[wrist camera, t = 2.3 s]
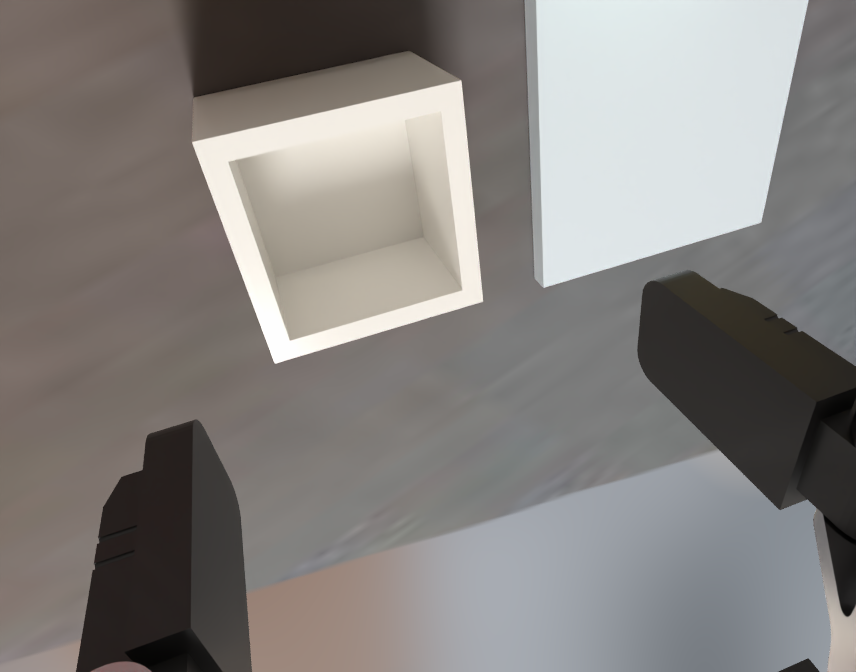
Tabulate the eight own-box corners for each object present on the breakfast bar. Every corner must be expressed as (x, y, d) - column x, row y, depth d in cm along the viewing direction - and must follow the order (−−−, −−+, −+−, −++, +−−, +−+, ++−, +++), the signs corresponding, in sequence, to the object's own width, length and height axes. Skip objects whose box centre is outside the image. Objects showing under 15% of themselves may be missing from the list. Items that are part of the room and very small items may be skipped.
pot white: (408, 50, 18) (461, 80, 14) (436, 240, 22) (483, 301, 18) (193, 97, 17) (192, 142, 13) (261, 288, 21) (275, 363, 17)
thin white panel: (801, -62, 20) (821, -62, 19) (747, 215, 26) (761, 222, 25) (524, -4, 18) (536, -2, 17) (534, 278, 24) (543, 287, 23)
